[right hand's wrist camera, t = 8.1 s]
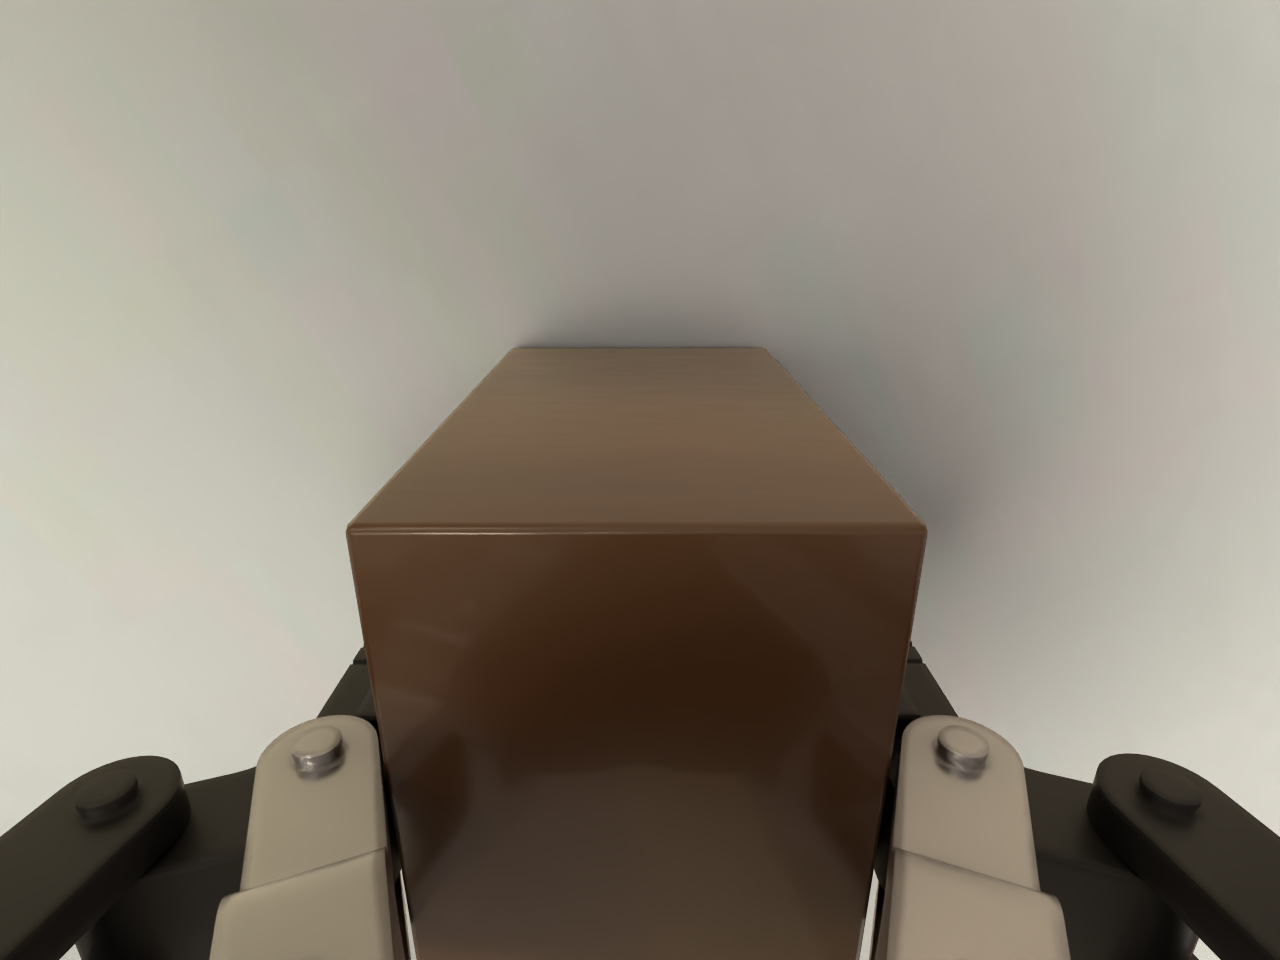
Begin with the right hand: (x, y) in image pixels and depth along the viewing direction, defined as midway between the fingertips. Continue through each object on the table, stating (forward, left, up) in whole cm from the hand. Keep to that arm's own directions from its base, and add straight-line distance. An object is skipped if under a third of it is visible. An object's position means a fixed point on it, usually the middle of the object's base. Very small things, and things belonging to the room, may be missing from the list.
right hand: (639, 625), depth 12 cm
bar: (+5, +5, -4) cm, 9 cm away
